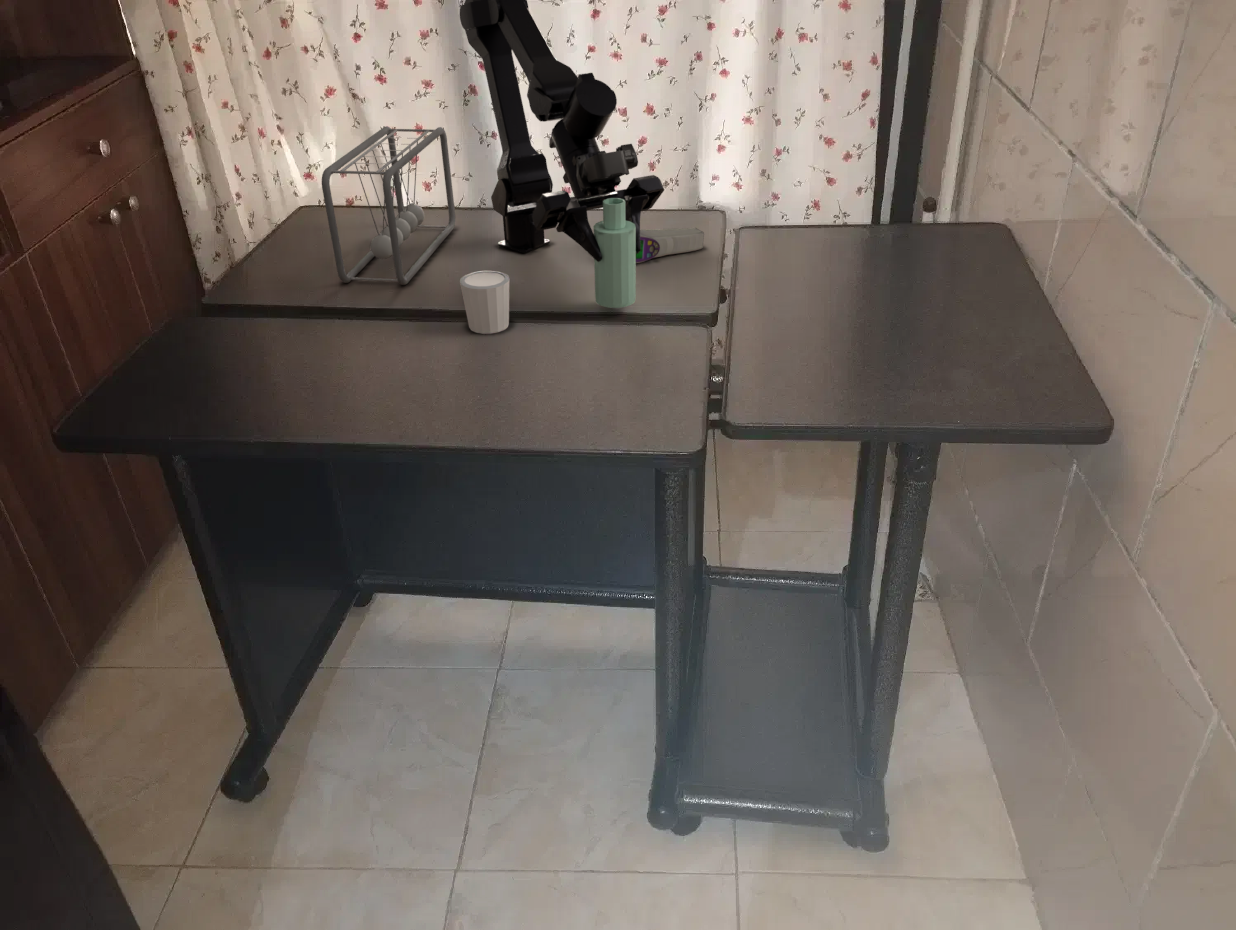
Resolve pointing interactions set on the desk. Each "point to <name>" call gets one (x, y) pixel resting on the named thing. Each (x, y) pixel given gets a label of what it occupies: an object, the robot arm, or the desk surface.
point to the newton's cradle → (390, 203)
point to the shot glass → (486, 301)
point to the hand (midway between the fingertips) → (619, 256)
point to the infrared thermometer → (668, 242)
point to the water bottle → (615, 257)
